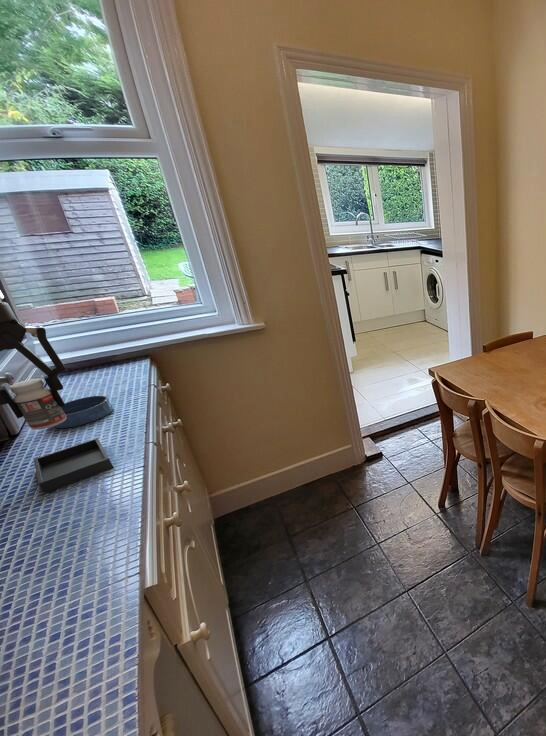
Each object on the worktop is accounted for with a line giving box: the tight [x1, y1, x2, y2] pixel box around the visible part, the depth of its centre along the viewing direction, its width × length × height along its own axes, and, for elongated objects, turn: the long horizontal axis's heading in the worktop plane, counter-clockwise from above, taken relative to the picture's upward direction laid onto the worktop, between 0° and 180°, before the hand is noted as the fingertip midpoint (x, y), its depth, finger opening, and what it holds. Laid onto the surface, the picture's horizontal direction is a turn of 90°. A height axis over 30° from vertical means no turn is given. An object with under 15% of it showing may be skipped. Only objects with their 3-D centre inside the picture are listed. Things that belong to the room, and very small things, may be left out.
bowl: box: [52, 395, 114, 429], centre depth 118 cm, size 13×13×4 cm
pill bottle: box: [8, 378, 67, 431], centre depth 88 cm, size 6×6×10 cm
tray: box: [33, 437, 115, 494], centre depth 95 cm, size 15×11×3 cm
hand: (41, 409), depth 89 cm, fingers closed on pill bottle, 6 cm apart
